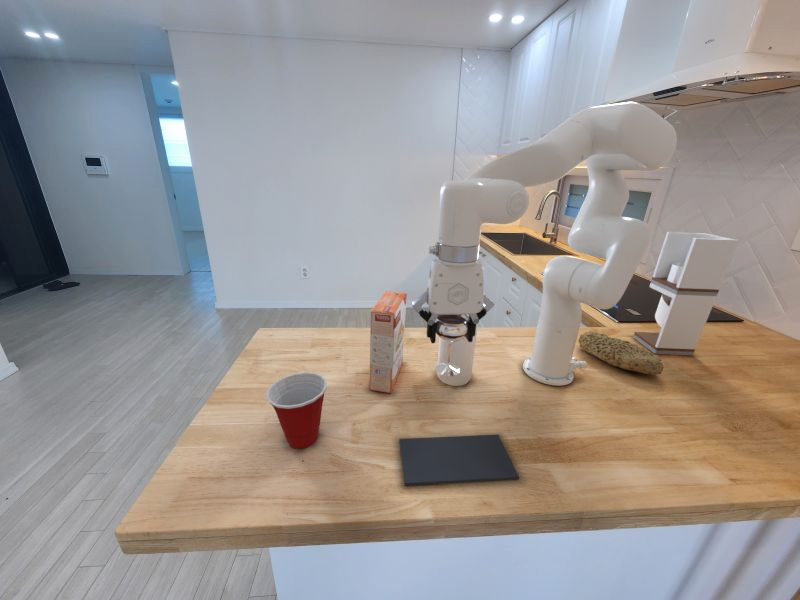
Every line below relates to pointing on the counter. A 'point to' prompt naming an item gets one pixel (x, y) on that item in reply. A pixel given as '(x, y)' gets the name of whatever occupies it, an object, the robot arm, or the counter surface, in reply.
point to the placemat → (455, 460)
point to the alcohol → (458, 359)
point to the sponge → (621, 353)
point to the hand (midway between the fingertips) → (450, 338)
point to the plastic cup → (298, 406)
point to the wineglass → (451, 338)
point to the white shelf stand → (686, 289)
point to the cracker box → (387, 340)
